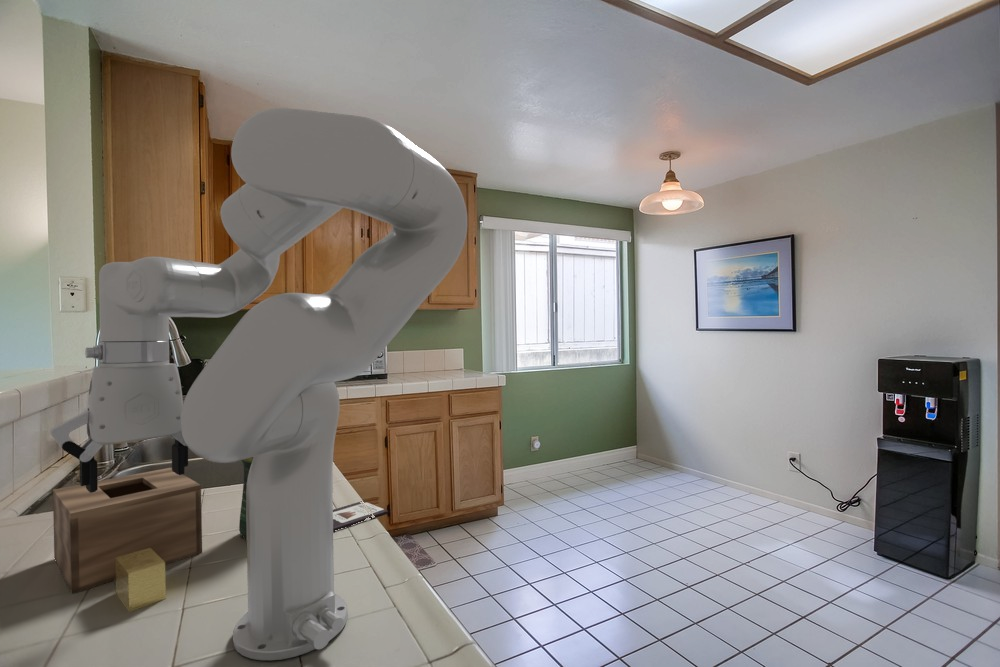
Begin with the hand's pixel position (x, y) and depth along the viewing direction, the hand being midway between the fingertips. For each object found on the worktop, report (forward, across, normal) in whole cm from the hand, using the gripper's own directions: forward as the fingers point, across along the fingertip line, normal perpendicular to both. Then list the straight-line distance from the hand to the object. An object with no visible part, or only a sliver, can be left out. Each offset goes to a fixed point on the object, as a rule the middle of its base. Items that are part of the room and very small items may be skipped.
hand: (137, 481), depth 66 cm
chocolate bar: (+16, +31, +3) cm, 35 cm away
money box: (+16, +2, +16) cm, 22 cm away
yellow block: (+16, 0, 0) cm, 16 cm away
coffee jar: (+16, +21, +8) cm, 27 cm away
